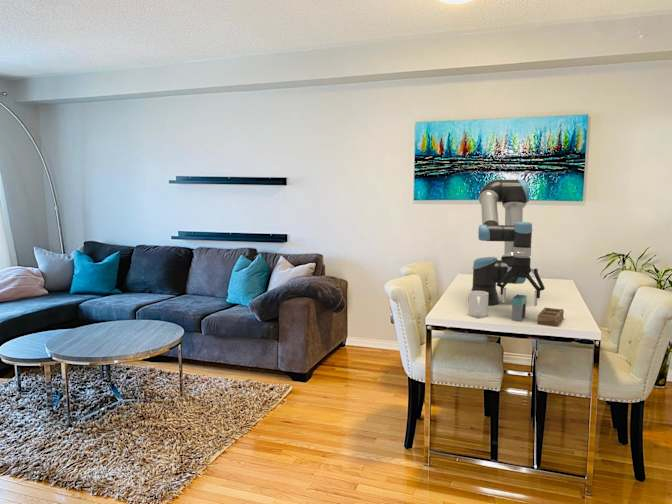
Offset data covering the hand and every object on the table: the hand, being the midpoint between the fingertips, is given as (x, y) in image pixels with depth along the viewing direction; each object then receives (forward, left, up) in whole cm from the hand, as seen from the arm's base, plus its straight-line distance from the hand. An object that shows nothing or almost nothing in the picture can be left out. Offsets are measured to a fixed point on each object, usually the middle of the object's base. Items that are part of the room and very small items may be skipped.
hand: (519, 303), depth 232 cm
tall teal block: (0, 0, -7) cm, 7 cm away
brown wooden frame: (+13, +3, -7) cm, 15 cm away
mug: (-17, -5, -7) cm, 19 cm away
